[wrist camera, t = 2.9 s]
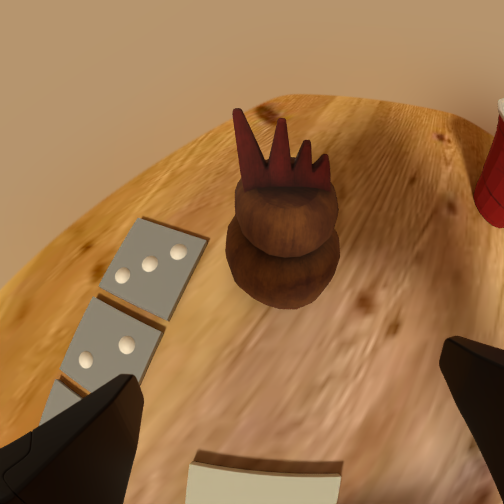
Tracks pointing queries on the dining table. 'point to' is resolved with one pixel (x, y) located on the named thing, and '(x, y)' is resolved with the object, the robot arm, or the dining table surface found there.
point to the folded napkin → (258, 486)
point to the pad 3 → (109, 347)
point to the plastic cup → (493, 178)
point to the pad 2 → (153, 267)
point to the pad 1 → (59, 400)
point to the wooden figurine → (282, 221)
